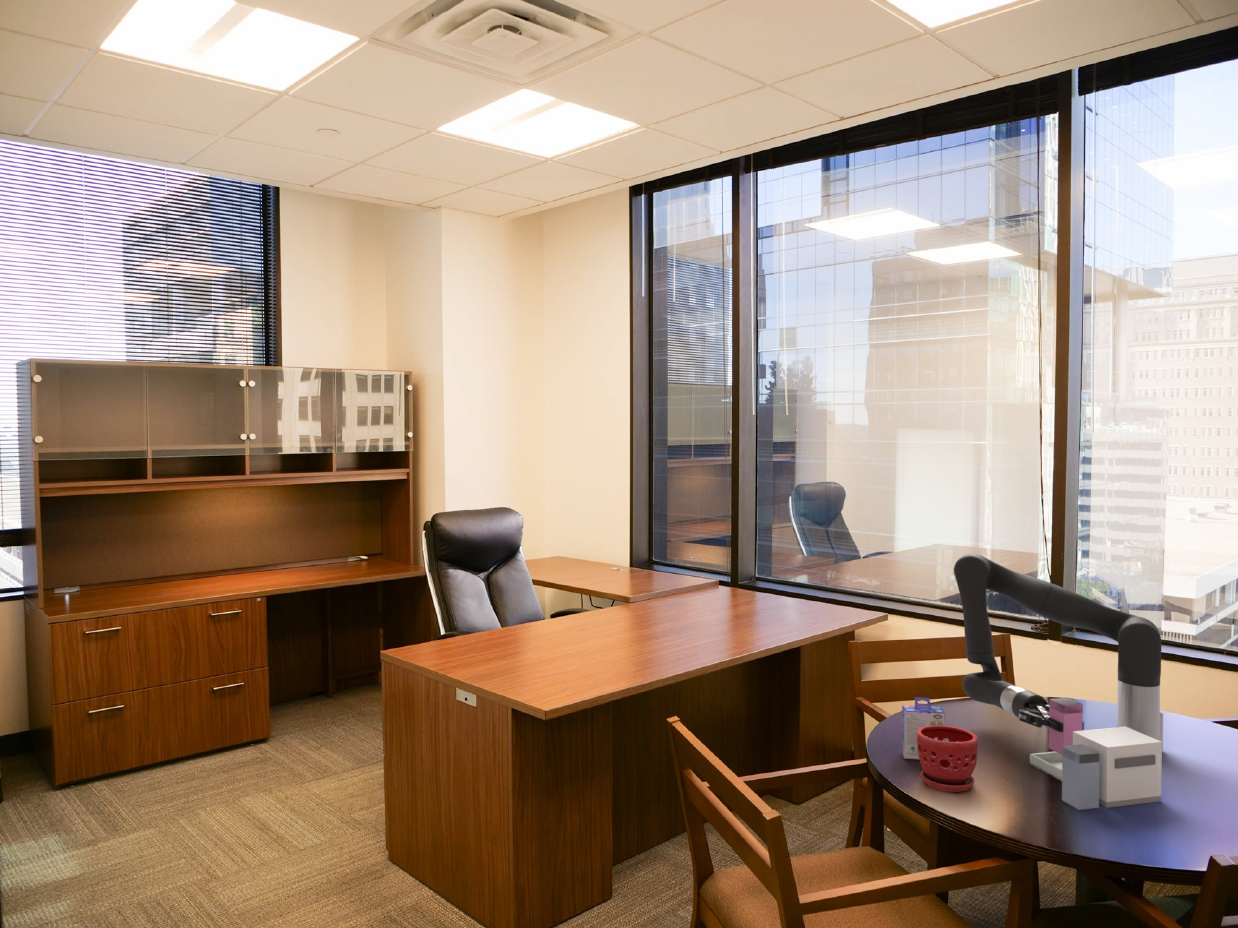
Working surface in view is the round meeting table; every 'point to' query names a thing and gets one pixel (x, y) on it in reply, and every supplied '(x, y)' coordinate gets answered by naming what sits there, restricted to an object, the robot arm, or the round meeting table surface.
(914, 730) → the ink cartridge box
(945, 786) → the plant pot
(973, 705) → the round meeting table surface
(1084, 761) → the slate blue cartridge
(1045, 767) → the parts tray
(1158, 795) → the printer unit
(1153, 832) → the round meeting table surface
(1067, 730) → the magenta cartridge
